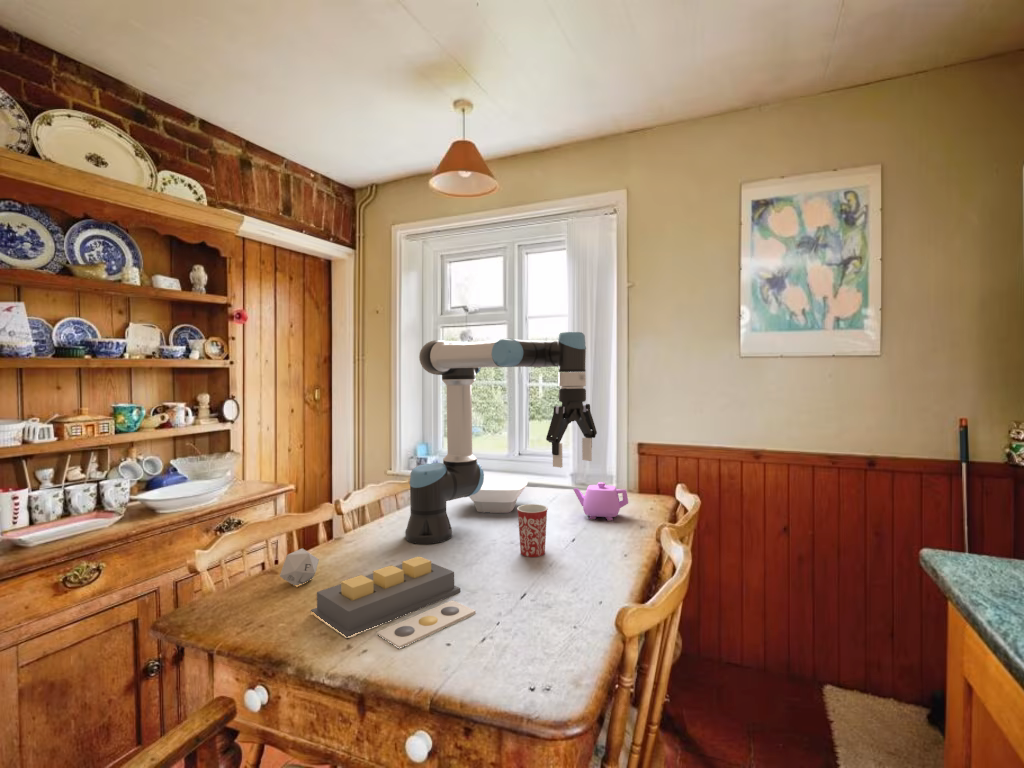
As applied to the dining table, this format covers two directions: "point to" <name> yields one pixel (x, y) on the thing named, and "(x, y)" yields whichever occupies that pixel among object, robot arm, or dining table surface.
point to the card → (426, 623)
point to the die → (299, 567)
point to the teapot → (602, 500)
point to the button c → (416, 567)
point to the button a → (357, 587)
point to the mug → (532, 529)
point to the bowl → (498, 494)
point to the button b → (388, 576)
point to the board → (384, 601)
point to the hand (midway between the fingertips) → (572, 463)
